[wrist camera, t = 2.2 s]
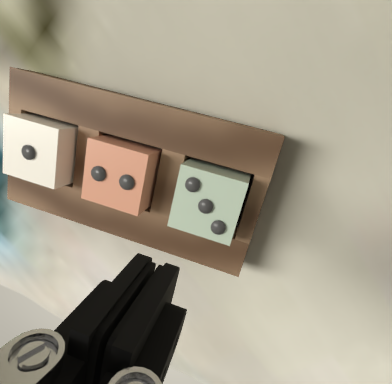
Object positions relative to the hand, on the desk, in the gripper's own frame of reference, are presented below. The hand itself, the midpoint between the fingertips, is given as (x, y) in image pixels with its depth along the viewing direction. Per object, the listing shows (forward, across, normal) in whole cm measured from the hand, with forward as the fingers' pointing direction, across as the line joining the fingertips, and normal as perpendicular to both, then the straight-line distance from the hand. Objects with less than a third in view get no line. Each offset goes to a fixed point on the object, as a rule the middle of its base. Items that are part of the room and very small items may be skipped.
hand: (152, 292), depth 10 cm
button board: (+15, +8, 0) cm, 17 cm away
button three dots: (+13, 0, 0) cm, 13 cm away
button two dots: (+13, +7, 0) cm, 15 cm away
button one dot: (+13, +15, 0) cm, 20 cm away
